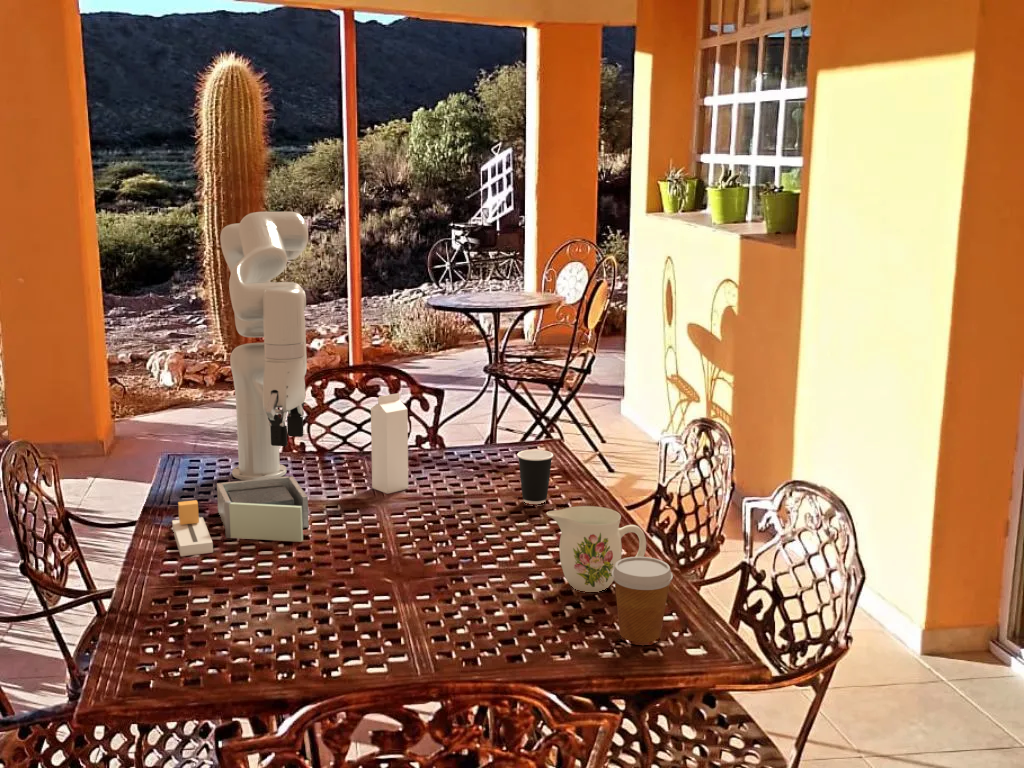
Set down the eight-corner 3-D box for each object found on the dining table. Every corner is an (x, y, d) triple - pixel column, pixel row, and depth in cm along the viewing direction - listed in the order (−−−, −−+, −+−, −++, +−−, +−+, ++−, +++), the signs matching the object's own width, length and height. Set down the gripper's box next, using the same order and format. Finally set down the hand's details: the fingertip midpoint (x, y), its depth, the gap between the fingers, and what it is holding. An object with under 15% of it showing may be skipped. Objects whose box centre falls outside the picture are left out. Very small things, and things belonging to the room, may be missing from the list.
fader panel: (172, 529, 220) (172, 520, 219) (203, 526, 222) (202, 516, 222) (180, 556, 205) (180, 545, 205) (213, 552, 208) (212, 541, 207)
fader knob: (179, 521, 218) (178, 502, 217) (197, 519, 219) (196, 500, 219) (180, 524, 216) (179, 505, 215) (198, 522, 217) (198, 503, 217)
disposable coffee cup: (597, 637, 172) (599, 565, 170) (635, 620, 179) (637, 551, 176) (644, 657, 165) (647, 582, 163) (682, 638, 172) (685, 566, 170)
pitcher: (652, 595, 189) (654, 520, 186) (549, 599, 187) (551, 523, 184) (637, 572, 199) (639, 500, 197) (540, 576, 197) (541, 503, 194)
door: (227, 535, 216) (225, 500, 215) (303, 539, 214) (302, 504, 213) (224, 537, 215) (222, 502, 213) (301, 542, 213) (299, 506, 211)
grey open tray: (218, 512, 231) (216, 483, 229) (293, 504, 237) (292, 475, 235) (228, 536, 216) (227, 505, 215) (308, 527, 222) (307, 496, 221)
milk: (408, 489, 249) (408, 395, 244) (387, 494, 245) (386, 398, 240) (392, 483, 253) (392, 390, 249) (371, 488, 249) (370, 394, 245)
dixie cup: (559, 503, 239) (560, 455, 237) (531, 510, 234) (531, 461, 232) (537, 494, 245) (538, 447, 243) (509, 500, 241) (509, 452, 238)
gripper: (285, 343, 219) (288, 429, 222) (246, 358, 202) (249, 450, 206) (320, 345, 217) (322, 431, 221) (283, 360, 200) (286, 453, 204)
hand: (287, 440), depth 213 cm, fingers open, 6 cm apart
